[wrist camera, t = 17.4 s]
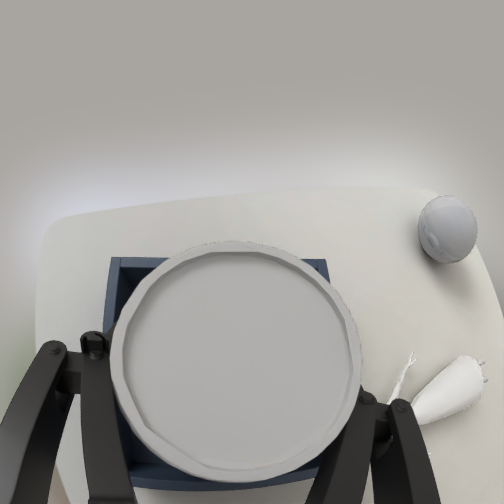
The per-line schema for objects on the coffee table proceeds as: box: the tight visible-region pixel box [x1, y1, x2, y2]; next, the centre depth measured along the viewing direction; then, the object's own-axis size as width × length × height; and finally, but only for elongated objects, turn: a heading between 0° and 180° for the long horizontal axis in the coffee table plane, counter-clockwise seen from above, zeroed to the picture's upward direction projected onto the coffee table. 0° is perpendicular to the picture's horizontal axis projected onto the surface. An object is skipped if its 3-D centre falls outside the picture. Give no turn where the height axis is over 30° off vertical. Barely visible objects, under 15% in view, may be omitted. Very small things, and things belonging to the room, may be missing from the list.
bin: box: [103, 257, 330, 491], centre depth 17 cm, size 16×16×5 cm
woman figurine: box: [386, 352, 488, 458], centre depth 18 cm, size 12×4×18 cm
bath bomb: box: [418, 195, 477, 263], centre depth 26 cm, size 8×8×8 cm
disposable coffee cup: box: [110, 241, 362, 483], centre depth 13 cm, size 10×10×12 cm
